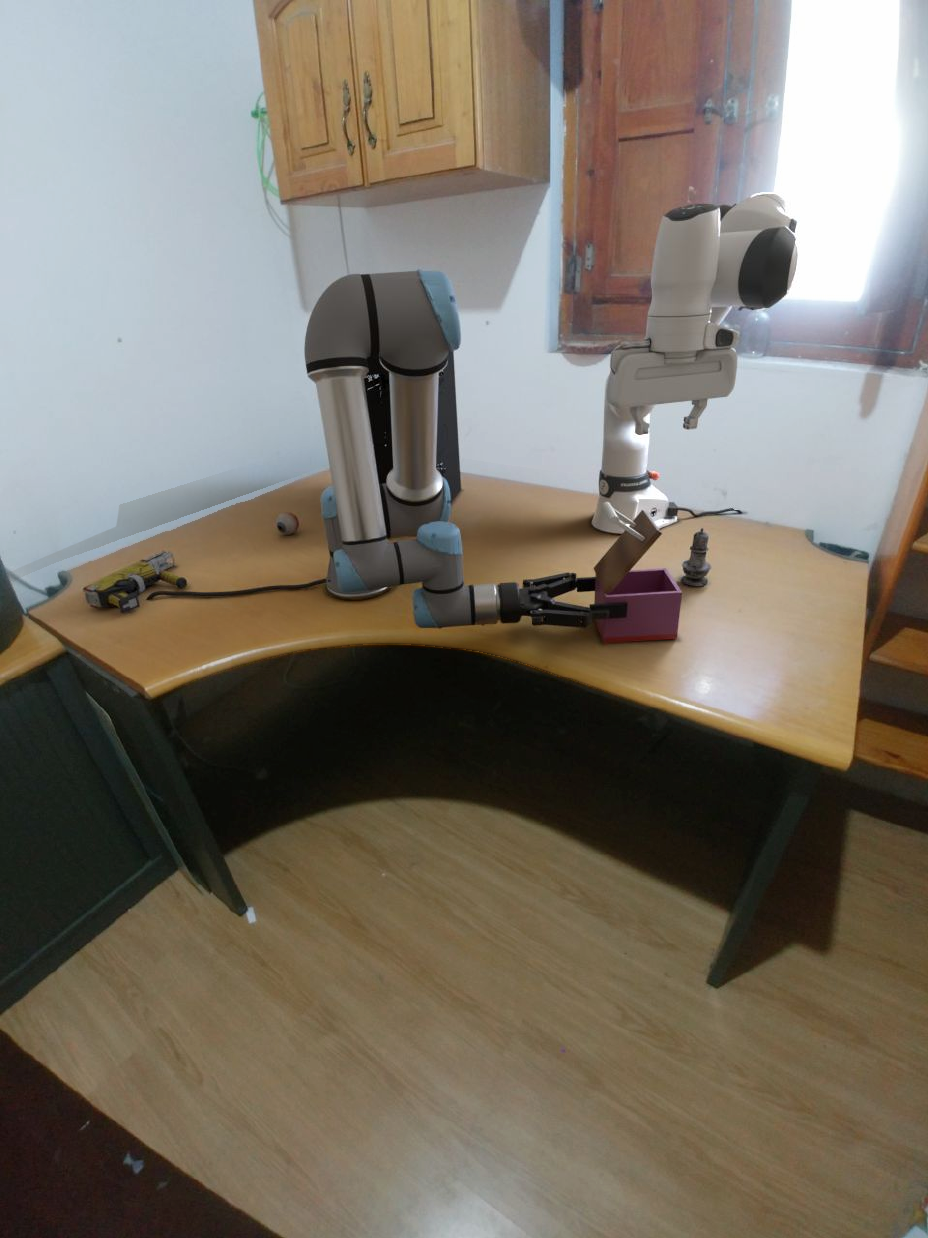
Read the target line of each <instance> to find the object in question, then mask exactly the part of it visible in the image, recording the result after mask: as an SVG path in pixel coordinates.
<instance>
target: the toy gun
mask: <svg viewBox="0 0 928 1238" xmlns="http://www.w3.org/2000/svg"><path fill="white" fill-rule="evenodd" d="M170 559H172V562H169V561H168V560H170ZM175 565H176V563H175V557H174V553H172V552H171V551H167V550H162V551H159V552H158V553H155V554H154V555H151V556H149V557H148V558H145V559H140V560H139V561H136V562H134V563H132V564H130V565H128V566H126V567H124V568H121V569H119V570H117V571H115V572H113V573H110V574H109V575H106V576H104V577H102V578H100V579H98V580H95V581H94V582H91V583H89V584H87V585H85V586H84V587H83V588H82V590H83V594H84V596H85V601H86V603H87V604H88V605H89V606H90V607H91V608H94V609H97V608H107V607H108V608H109V607H112V606H116V607H118V608H119V610H120V614H121V615H122V614H123V615H124V614H127V613H129V612H131V611H133V610H135V609H138V608H140V607H141V606H140V602H139V597H138V595H140V594H142V593H144V592H145V591H146V588H147V587H149V586H151V585H154V584H157V583H159V581H163V582H165V583H168V584H169V585H172V586H176V587H177V588H178V589H183V588H186V587H187V586H188V580H187V579H186V578H185V577H183V576H180V575H176V574H174V573H172V572H170V571H167V570H169V569H170V568H172V567H175Z"/></svg>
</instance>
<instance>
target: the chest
mask: <svg viewBox="0 0 928 1238" xmlns="http://www.w3.org/2000/svg"><path fill="white" fill-rule="evenodd" d="M594 577H595V591H594V598H593V599H594V600H593V601H594V602H593V604H604V603H619V602H627V604H628V605H627V616H626V618H610V619H596V620H594V621H595V623H596V624H595V625H596V626H597V629H598V632H599V635H600V637H601V641H602V643H603V644H608V643H609V644H611V643H625V642H626V643H627V642H642V641H643V642H644V641H661V640H662V641H663V640H676V639H678V632H679V631H678V630H679V623H680V613H681V607H682V597H683V591H682V589H681V588H680V587H679V584H678V583H677V582H676V581H675V579H674V578H673V576H672V574H671V573H670V572H669V570H668V569H667V567H661V568H647V569H633V570H632V569H631V570H630V571H629V572H628V573H627V575H626V576H625V577H624V578H623V579H622V580H621V581H620V583H619V584H618V585H617V586H616V587H615V588H614V589H613V591H612V592H611V593H610V594H609V595H607V594H605V593H604V592H603V590H602V588H601V585H600V583H599V580H598V578H597V575H596V573H595V575H594Z"/></svg>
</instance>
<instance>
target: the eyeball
mask: <svg viewBox="0 0 928 1238" xmlns="http://www.w3.org/2000/svg"><path fill="white" fill-rule="evenodd" d="M299 525H300V522H299V519H298V517H297V516H296V515H295V514H294V513H292V512H287V511H286V512H282V513H280V514H279V515H278V516H277V517H276V520H275V527H276V529H277V530H278V531H279V532H280V533H281V534H282V535H285V536H286V535H287V536H289V535H293V534H295V533H296V532H297V531H298V529H299Z"/></svg>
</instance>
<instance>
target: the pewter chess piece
mask: <svg viewBox="0 0 928 1238" xmlns="http://www.w3.org/2000/svg"><path fill="white" fill-rule="evenodd" d="M708 543H709V534H708V533H707V532H706V531H705V529H704V527H701V528H700V530H699V531H697V532H695V533H694V534H693V539H692V545H691V546H690V547H689V549H690V556H689V558H688V559H685V560H684V561H683V562H682V563H681V566H682V570H683V573H684V575H683V576H681V582H682V583H683V584H685V585H688V586H692V587H702V586H705V585H707V584H708V579H707V578H706V576H707V575H708V574H709V572H710V571H711V569H712V565H711V563H709V561H706V558H707V552H709V548H708Z"/></svg>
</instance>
